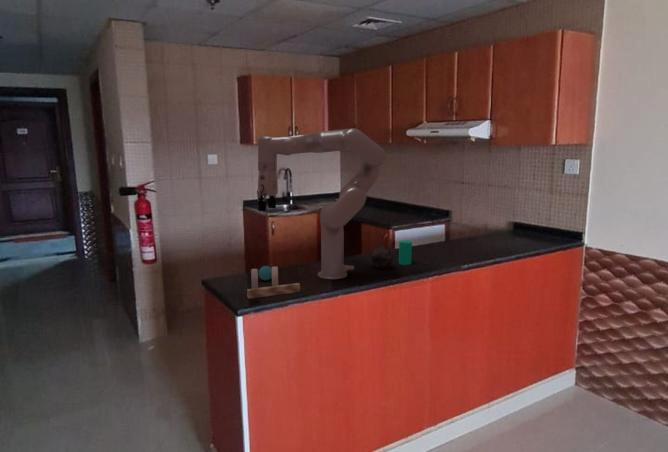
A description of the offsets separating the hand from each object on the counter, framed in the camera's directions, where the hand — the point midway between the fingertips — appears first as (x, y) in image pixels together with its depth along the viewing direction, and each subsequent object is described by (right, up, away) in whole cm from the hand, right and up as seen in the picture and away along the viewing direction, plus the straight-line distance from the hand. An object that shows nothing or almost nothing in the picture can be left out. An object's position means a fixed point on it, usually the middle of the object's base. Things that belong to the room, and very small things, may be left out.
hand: (267, 209), depth 190 cm
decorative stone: (+49, -26, +23) cm, 60 cm away
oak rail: (+5, -33, -15) cm, 36 cm away
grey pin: (-3, -32, -12) cm, 34 cm away
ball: (-1, -26, +3) cm, 27 cm away
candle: (+61, -25, +31) cm, 73 cm away
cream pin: (+4, -32, -9) cm, 33 cm away
